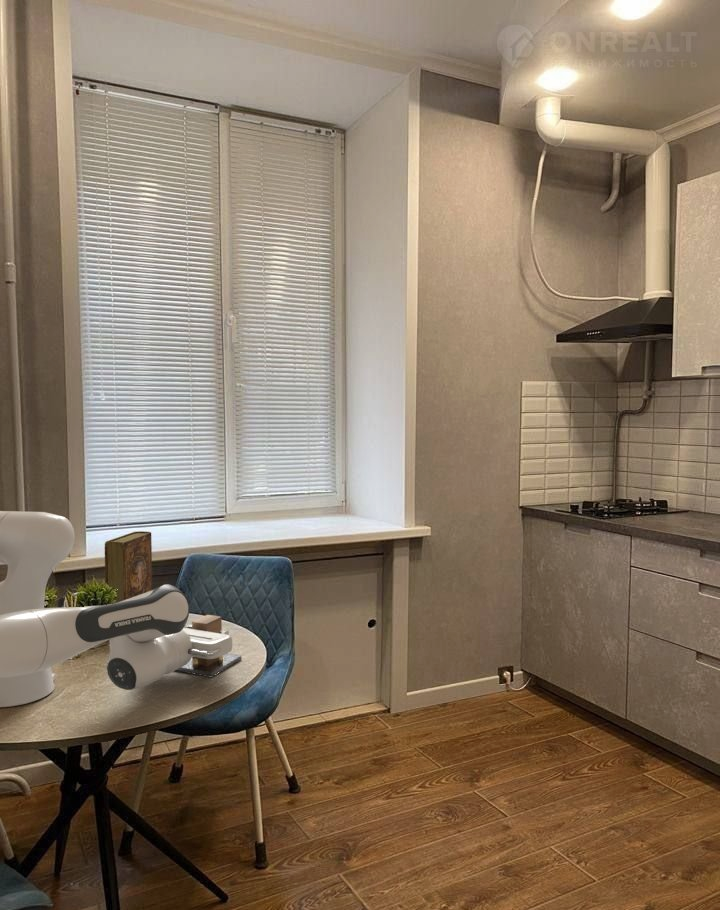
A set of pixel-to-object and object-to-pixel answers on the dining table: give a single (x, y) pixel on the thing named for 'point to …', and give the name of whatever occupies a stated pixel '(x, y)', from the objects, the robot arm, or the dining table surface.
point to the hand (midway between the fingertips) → (209, 630)
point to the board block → (210, 625)
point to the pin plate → (212, 668)
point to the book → (129, 564)
